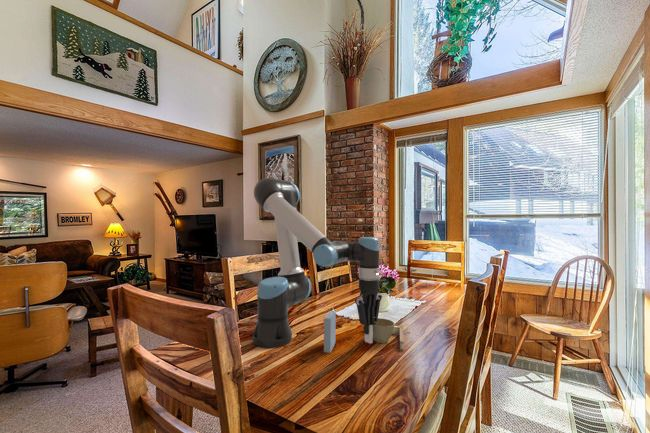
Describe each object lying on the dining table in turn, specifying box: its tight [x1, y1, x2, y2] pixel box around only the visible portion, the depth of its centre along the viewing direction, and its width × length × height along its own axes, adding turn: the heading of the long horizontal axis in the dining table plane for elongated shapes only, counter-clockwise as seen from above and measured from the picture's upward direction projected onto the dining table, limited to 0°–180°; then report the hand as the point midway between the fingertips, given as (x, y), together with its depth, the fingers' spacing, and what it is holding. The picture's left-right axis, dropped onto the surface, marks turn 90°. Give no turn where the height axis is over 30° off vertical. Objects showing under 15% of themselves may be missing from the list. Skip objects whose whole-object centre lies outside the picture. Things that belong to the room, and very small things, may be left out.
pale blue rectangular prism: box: [323, 310, 337, 354], centre depth 109 cm, size 2×9×12 cm, turn 166°
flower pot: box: [373, 317, 395, 344], centre depth 115 cm, size 10×10×7 cm
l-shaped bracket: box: [392, 325, 405, 351], centre depth 117 cm, size 16×16×3 cm
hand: (368, 342), depth 110 cm, fingers closed
